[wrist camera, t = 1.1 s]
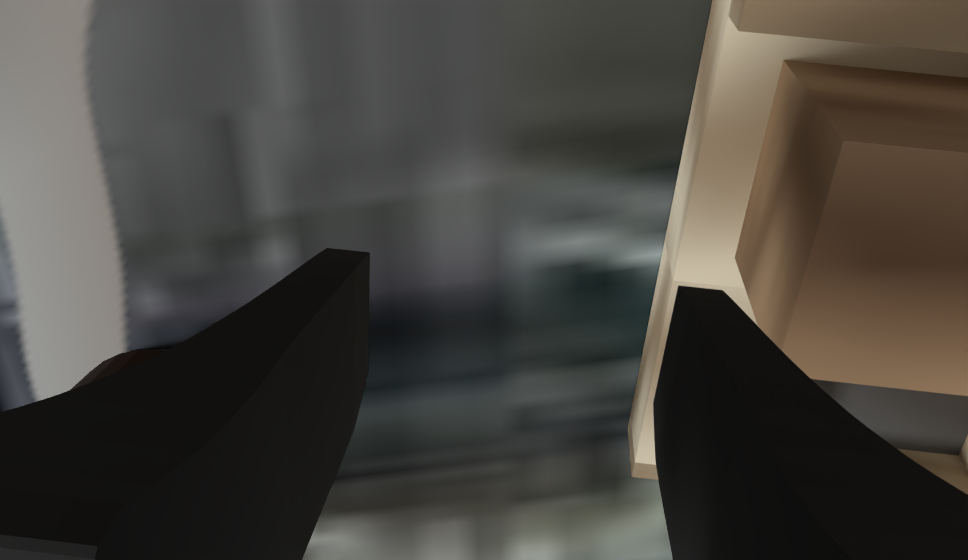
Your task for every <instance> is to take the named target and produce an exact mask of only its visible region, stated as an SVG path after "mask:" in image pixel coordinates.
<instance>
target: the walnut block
mask: <svg viewBox="0 0 968 560" xmlns="http://www.w3.org/2000/svg"><path fill="white" fill-rule="evenodd" d="M735 260H736V263H737V266H738V269H739V272H740V275H741V278H742V281H743V284H744V287H745V289H746V292H747V295H748V298H749V301H750V304H751V307H752V310H753V313H754V316H755V319H756V322H757V325H758V327H759V328H760V329H761V330H762V331H763V332H764V333H765V334H766V335H767V336H768V337H769V338H770V339H771V340H772V341H773V342H774V343H775V344H776V345H777V346H778V347H779V348H780V349H781V350H782V351H783V352H784V353H785V354H786V355H787V356H788V357H789V358H790V359H791V360H792V361H793V362H794V363H795V364H796V365H797V366H798V367H799V368H800V369H801V370H802V371H803V372H804V373H805V374H806V375H807V376H808V377H809V378H811V379H816V380H825V381H834V382H843V383H852V384H861V385H871V386H880V387H889V388H898V389H907V390H916V391H925V392H934V393H944V394H953V395H962V396H968V78H966V77H955V76H945V75H935V74H924V73H914V72H904V71H893V70H883V69H872V68H862V67H852V66H841V65H831V64H821V63H810V62H800V61H790V60H783V63H782V67H781V71H780V75H779V79H778V83H777V87H776V91H775V96H774V100H773V104H772V108H771V112H770V116H769V120H768V124H767V128H766V132H765V136H764V140H763V144H762V148H761V152H760V156H759V161H758V165H757V169H756V173H755V177H754V181H753V185H752V189H751V193H750V197H749V201H748V205H747V209H746V213H745V217H744V221H743V226H742V230H741V234H740V238H739V242H738V246H737V250H736V254H735Z"/></svg>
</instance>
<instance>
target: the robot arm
mask: <svg viewBox="0 0 968 560" xmlns="http://www.w3.org/2000/svg"><path fill="white" fill-rule="evenodd" d="M369 270H370V253H369V252H359V251H350V250H340V249H331V248H327V249H325V250H323V251H322V252H320V253H319V254H317V255H316V256H314V257H313V258H311V259H310V260H309V261H307V262H306V263H304V264H303V265H302V266H300V267H299V268H298V269H296V270H295V271H293V272H292V273H291V274H289V275H288V276H286V277H285V278H284V279H282V280H281V281H279V282H278V283H276V284H275V285H273V286H272V287H271V288H269V289H268V290H266V291H265V292H263V293H262V294H260V295H259V296H257V297H256V298H255V299H253V300H252V301H250V302H249V303H247V304H246V305H244V306H242V307H241V308H239V309H238V310H236V311H234V312H233V313H231V314H229V315H228V316H226V317H224V318H223V319H221V320H219V321H218V322H216V323H214V324H213V325H211V326H209V327H208V328H206V329H204V330H203V331H201V332H200V333H198V334H196V335H194V336H193V337H191V338H189V339H187V340H185V341H183V342H181V343H179V344H178V345H176V346H174V347H172V348H170V349H168V350H166V351H164V352H162V353H159V354H157V355H155V356H153V357H151V358H149V359H147V360H145V361H142V362H140V363H138V364H136V365H134V366H131V367H129V368H127V369H125V370H122V371H120V372H117V373H114V374H112V375H109V376H107V377H104V378H101V379H99V380H96V381H93V382H91V383H88V384H85V385H83V386H80V387H78V388H75V389H72V390H70V391H67V392H64V393H62V394H59V395H56V396H53V397H50V398H47V399H44V400H40V401H37V402H34V403H31V404H28V405H24V406H21V407H18V408H14V409H11V410H7V411H4V412H0V560H302V558H303V556H304V553H305V550H306V548H307V545H308V543H309V541H310V538H311V536H312V533H313V531H314V528H315V526H316V523H317V521H318V518H319V516H320V513H321V511H322V508H323V506H324V503H325V501H326V498H327V496H328V493H329V491H330V489H331V486H332V484H333V481H334V479H335V476H336V474H337V471H338V469H339V466H340V464H341V461H342V459H343V456H344V454H345V451H346V449H347V446H348V443H349V441H350V438H351V436H352V433H353V430H354V427H355V424H356V420H357V416H358V412H359V408H360V404H361V400H362V396H363V392H364V388H365V384H366V379H367V375H368V365H369ZM653 415H654V441H655V460H656V468H657V474H658V480H659V486H660V491H661V497H662V502H663V508H664V513H665V519H666V524H667V529H668V535H669V540H670V546H671V551H672V556H673V560H968V494H966V493H964V492H963V491H961V490H959V489H958V488H956V487H955V486H953V485H951V484H950V483H948V482H946V481H945V480H943V479H941V478H940V477H938V476H936V475H935V474H933V473H932V472H930V471H929V470H927V469H926V468H924V467H923V466H921V465H920V464H918V463H917V462H915V461H914V460H912V459H911V458H909V457H908V456H906V455H905V454H903V453H902V452H901V451H899V450H898V449H897V448H895V447H894V446H893V445H891V444H890V443H888V442H887V441H886V440H884V439H883V438H882V437H880V436H879V435H877V434H876V433H875V432H873V431H872V430H871V429H869V428H868V427H867V426H865V425H864V424H863V423H862V422H860V421H859V420H858V419H857V418H855V417H854V416H853V415H852V414H850V413H849V412H848V411H847V410H846V409H845V408H843V407H842V406H841V405H840V404H839V403H838V402H836V401H835V400H834V399H833V398H832V397H831V396H830V395H828V394H827V393H826V392H825V391H824V390H823V389H821V388H820V387H819V386H818V385H817V384H816V383H815V382H814V381H813V380H812V379H811V378H809V377H808V376H807V375H806V374H805V373H804V372H803V371H802V370H801V369H800V368H799V367H798V366H797V365H796V364H795V363H794V362H793V361H792V360H791V359H790V358H789V357H788V356H787V355H786V354H785V353H784V352H783V351H782V350H781V349H780V348H779V347H778V346H777V345H776V344H775V343H774V342H773V341H772V340H771V339H770V338H769V337H768V336H767V335H766V334H765V333H764V332H763V331H762V330H761V329H760V328H759V327H758V326H757V325H756V324H755V323H754V322H753V320H752V319H751V318H750V317H749V316H748V315H747V314H746V313H745V312H744V311H743V310H742V309H741V308H740V307H739V306H738V305H737V304H736V303H735V302H734V301H733V300H732V299H731V298H730V297H729V296H728V295H727V294H726V293H725V292H724V291H723V290H717V289H707V288H698V287H689V286H679V285H678V289H677V293H676V298H675V303H674V308H673V312H672V317H671V322H670V326H669V331H668V336H667V340H666V345H665V350H664V354H663V359H662V364H661V368H660V373H659V378H658V382H657V387H656V392H655V397H654V401H653Z"/></svg>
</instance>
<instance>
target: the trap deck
mask: <svg viewBox="0 0 968 560" xmlns="http://www.w3.org/2000/svg"><path fill="white" fill-rule="evenodd" d="M783 60H790V61H800V62H810V63H821V64H831V65H841V66H852V67H862V68H872V69H883V70H893V71H904V72H914V73H924V74H935V75H945V76H955V77H966V78H968V0H713V1H712V6H711V11H710V16H709V21H708V26H707V31H706V36H705V41H704V47H703V52H702V57H701V62H700V67H699V72H698V77H697V82H696V87H695V92H694V97H693V102H692V107H691V112H690V117H689V122H688V127H687V132H686V137H685V142H684V147H683V152H682V157H681V162H680V167H679V172H678V177H677V182H676V187H675V192H674V197H673V202H672V207H671V212H670V217H669V223H668V228H667V233H666V238H665V243H664V248H663V253H662V258H661V263H660V268H659V273H658V278H657V283H656V288H655V293H654V298H653V303H652V308H651V313H650V318H649V323H648V328H647V333H646V338H645V343H644V348H643V353H642V358H641V363H640V368H639V373H638V378H637V383H636V388H635V393H634V398H633V404H632V409H631V414H630V419H629V424H628V439H629V451H630V462H631V474H632V477H637V478H646V479H654V480H658V474H657V468H656V460H655V441H654V415H653V401H654V397H655V392H656V387H657V382H658V378H659V373H660V368H661V364H662V359H663V354H664V350H665V345H666V340H667V336H668V331H669V326H670V322H671V317H672V312H673V308H674V303H675V298H676V293H677V289H678V285H679V286H689V287H698V288H707V289H717V290H723V291H724V292H725V293H726V294H727V295H728V296H729V297H730V298H731V299H732V300H733V301H734V302H735V303H736V304H737V305H738V306H739V307H740V308H741V309H742V310H743V311H744V312H745V313H746V314H747V315H748V316H749V317H750V318H751V319H752V320H753V322H754V323H755V324H756V325H757V322H756V319H755V316H754V313H753V310H752V307H751V304H750V301H749V298H748V295H747V292H746V289H745V287H744V284H743V281H742V278H741V275H740V272H739V269H738V266H737V263H736V260H735V254H736V250H737V246H738V242H739V238H740V234H741V230H742V226H743V221H744V217H745V213H746V209H747V205H748V201H749V197H750V193H751V189H752V185H753V181H754V177H755V173H756V169H757V165H758V161H759V156H760V152H761V148H762V144H763V140H764V136H765V132H766V128H767V124H768V120H769V116H770V112H771V108H772V104H773V100H774V96H775V91H776V87H777V83H778V79H779V75H780V71H781V67H782V63H783ZM757 326H758V325H757ZM812 380H813V381H814V382H815V383H816V384H817V385H818V386H819V387H820V388H821V389H823V390H824V391H825V392H826V393H827V394H828V395H830V396H831V397H832V398H833V399H834V400H835V401H836V402H838V403H839V404H840V405H841V406H842V407H843V408H845V409H846V410H847V411H848V412H849V413H850V414H852V415H853V416H854V417H855V418H857V419H858V420H859V421H860V422H862V423H863V424H864V425H865V426H867V427H868V428H869V429H871V430H872V431H873V432H875V433H876V434H877V435H879V436H880V437H882V438H883V439H884V440H886V441H887V442H888V443H890V444H891V445H893V446H894V447H895V448H897V449H898V450H899V451H901V452H902V453H903V454H905V455H906V456H908V457H909V458H911V459H912V460H914V461H915V462H917V463H918V464H920V465H921V466H923V467H924V468H926V469H927V470H929V471H930V472H932V473H933V474H935V475H936V476H938V477H940V478H941V479H943V480H945V481H946V482H948V483H950V484H951V485H953V486H955V487H956V488H958V489H959V490H961V491H963V492H964V493H966V494H968V396H962V395H953V394H944V393H934V392H925V391H916V390H907V389H898V388H889V387H880V386H871V385H861V384H852V383H843V382H834V381H825V380H816V379H812Z"/></svg>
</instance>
